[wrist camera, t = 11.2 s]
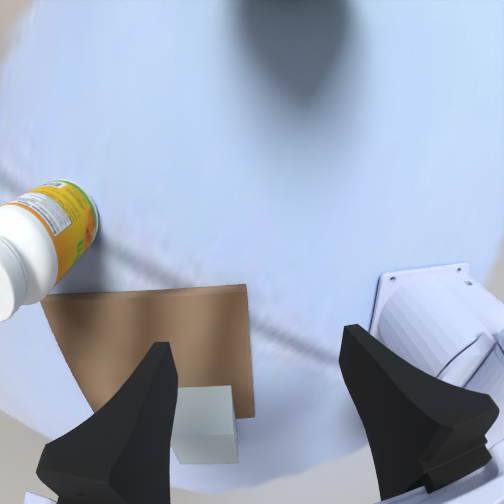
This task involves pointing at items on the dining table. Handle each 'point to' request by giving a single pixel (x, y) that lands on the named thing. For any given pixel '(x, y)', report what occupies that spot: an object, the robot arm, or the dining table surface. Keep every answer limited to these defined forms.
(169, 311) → the brown wooden board
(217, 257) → the dining table surface
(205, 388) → the pale blue-gray cube
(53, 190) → the supplement bottle
